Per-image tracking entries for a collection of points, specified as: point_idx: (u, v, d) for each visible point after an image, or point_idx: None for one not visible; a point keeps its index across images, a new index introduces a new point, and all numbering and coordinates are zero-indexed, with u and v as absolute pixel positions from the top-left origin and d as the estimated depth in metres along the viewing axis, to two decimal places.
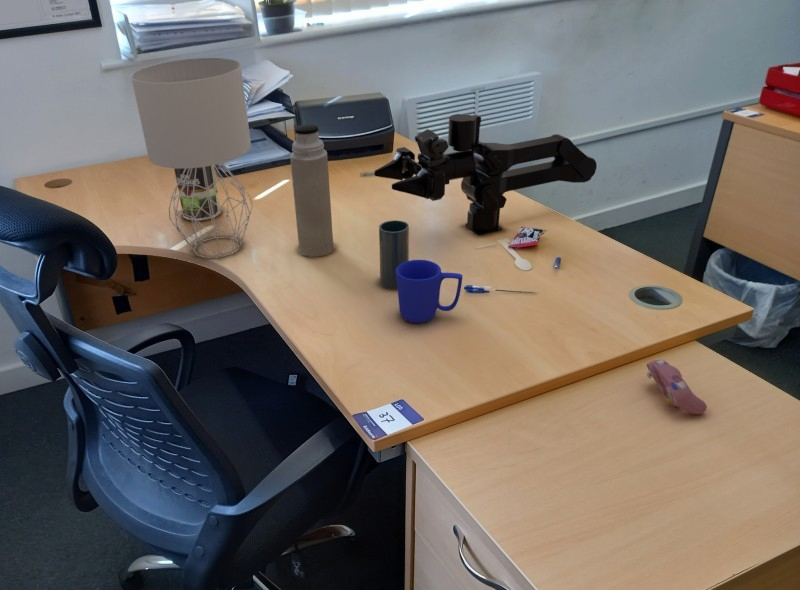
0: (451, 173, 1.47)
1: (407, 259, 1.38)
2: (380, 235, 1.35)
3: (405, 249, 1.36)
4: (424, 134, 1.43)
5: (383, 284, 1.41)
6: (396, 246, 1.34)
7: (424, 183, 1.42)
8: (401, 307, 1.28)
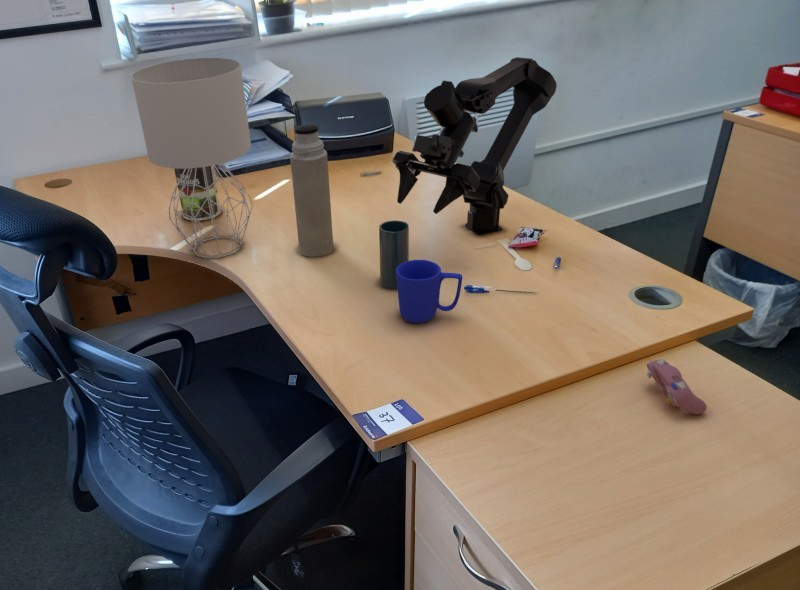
0: (461, 147, 1.37)
1: (407, 259, 1.38)
2: (380, 235, 1.35)
3: (405, 249, 1.36)
4: (420, 144, 1.33)
5: (383, 284, 1.41)
6: (396, 246, 1.34)
7: (457, 185, 1.35)
8: (401, 307, 1.28)
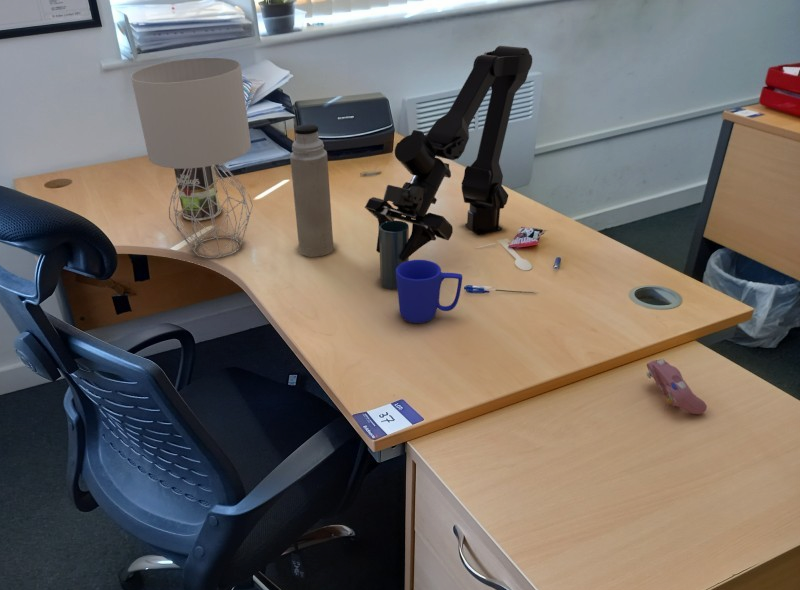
0: (434, 194, 1.36)
1: (407, 259, 1.38)
2: (380, 235, 1.35)
3: None
4: (392, 194, 1.31)
5: (383, 284, 1.41)
6: (396, 246, 1.34)
7: (423, 233, 1.34)
8: (401, 307, 1.28)
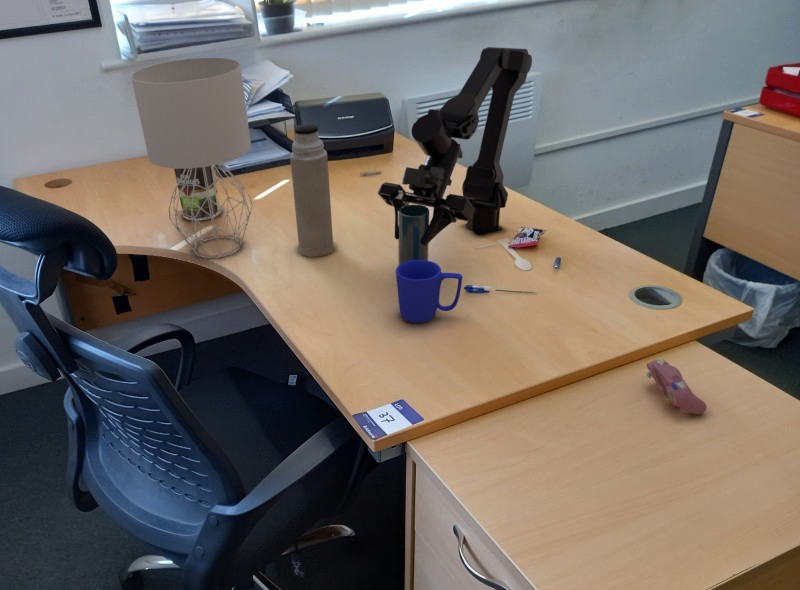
0: (450, 175, 1.32)
1: (427, 244, 1.33)
2: (400, 220, 1.30)
3: None
4: (412, 177, 1.26)
5: None
6: (418, 230, 1.29)
7: (445, 215, 1.30)
8: (401, 307, 1.28)
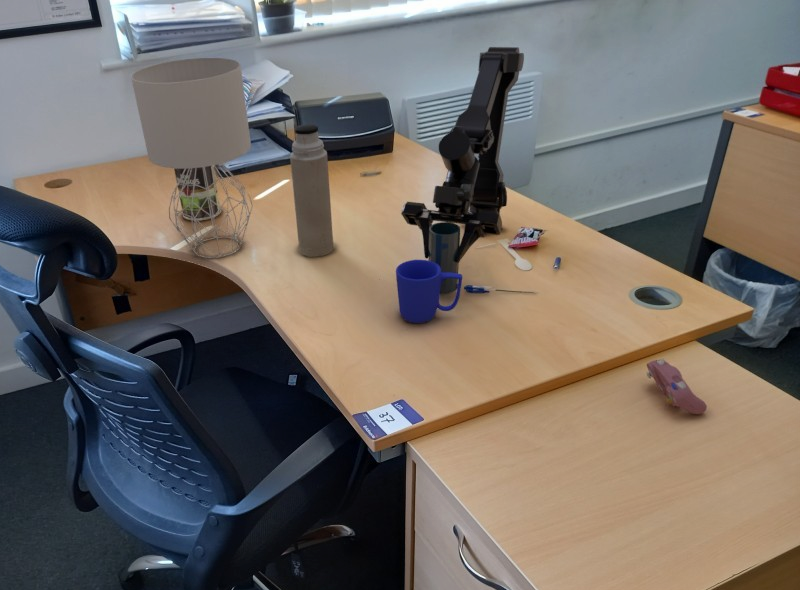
0: None
1: None
2: (433, 239, 1.28)
3: None
4: (444, 195, 1.25)
5: None
6: (452, 248, 1.28)
7: (475, 231, 1.30)
8: (401, 307, 1.28)
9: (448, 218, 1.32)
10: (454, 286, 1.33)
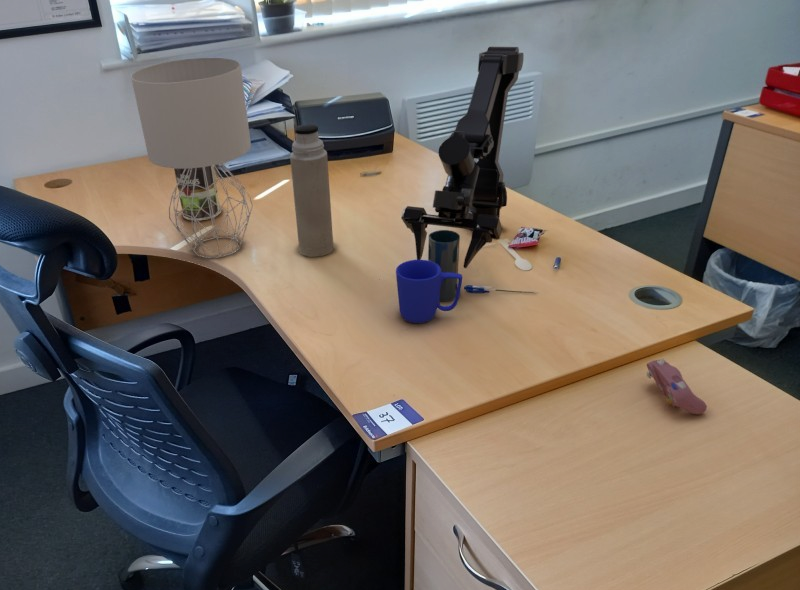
0: None
1: None
2: (433, 247, 1.29)
3: (458, 258, 1.31)
4: (444, 200, 1.25)
5: None
6: (452, 256, 1.29)
7: (482, 236, 1.30)
8: (401, 307, 1.28)
9: (448, 222, 1.32)
10: (453, 293, 1.34)
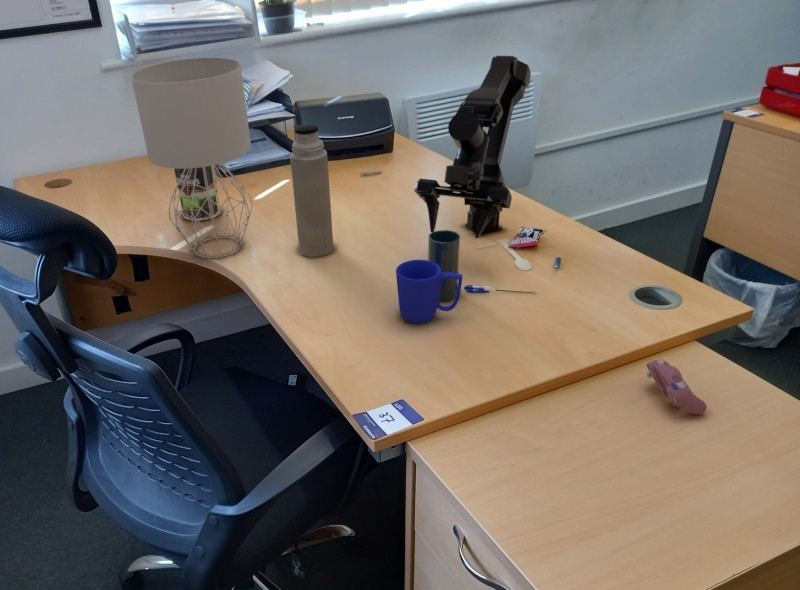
0: None
1: None
2: (433, 247, 1.29)
3: (458, 258, 1.31)
4: (455, 175, 1.30)
5: None
6: (452, 256, 1.29)
7: (493, 207, 1.35)
8: (401, 307, 1.28)
9: (459, 194, 1.37)
10: (453, 293, 1.34)
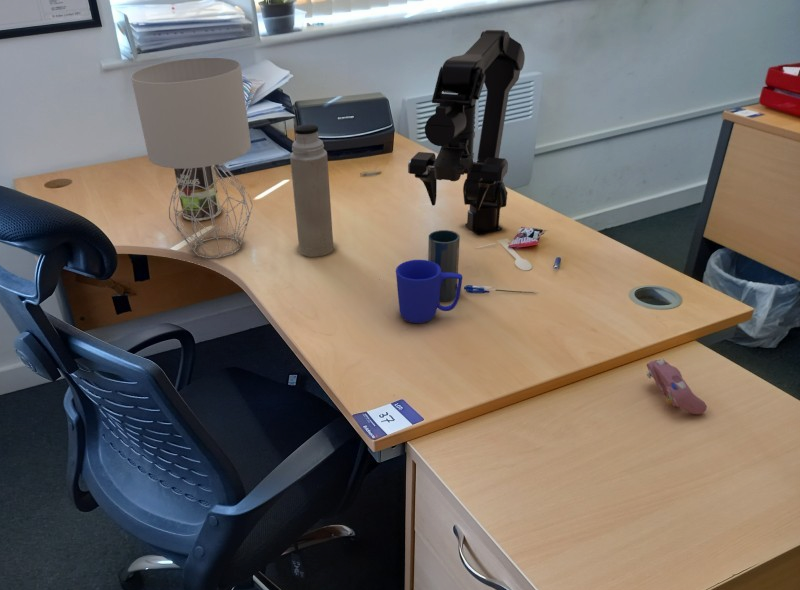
0: (473, 135, 1.31)
1: None
2: (433, 247, 1.29)
3: (458, 258, 1.31)
4: (444, 174, 1.28)
5: None
6: (452, 256, 1.29)
7: None
8: (401, 307, 1.28)
9: None
10: (453, 293, 1.34)
